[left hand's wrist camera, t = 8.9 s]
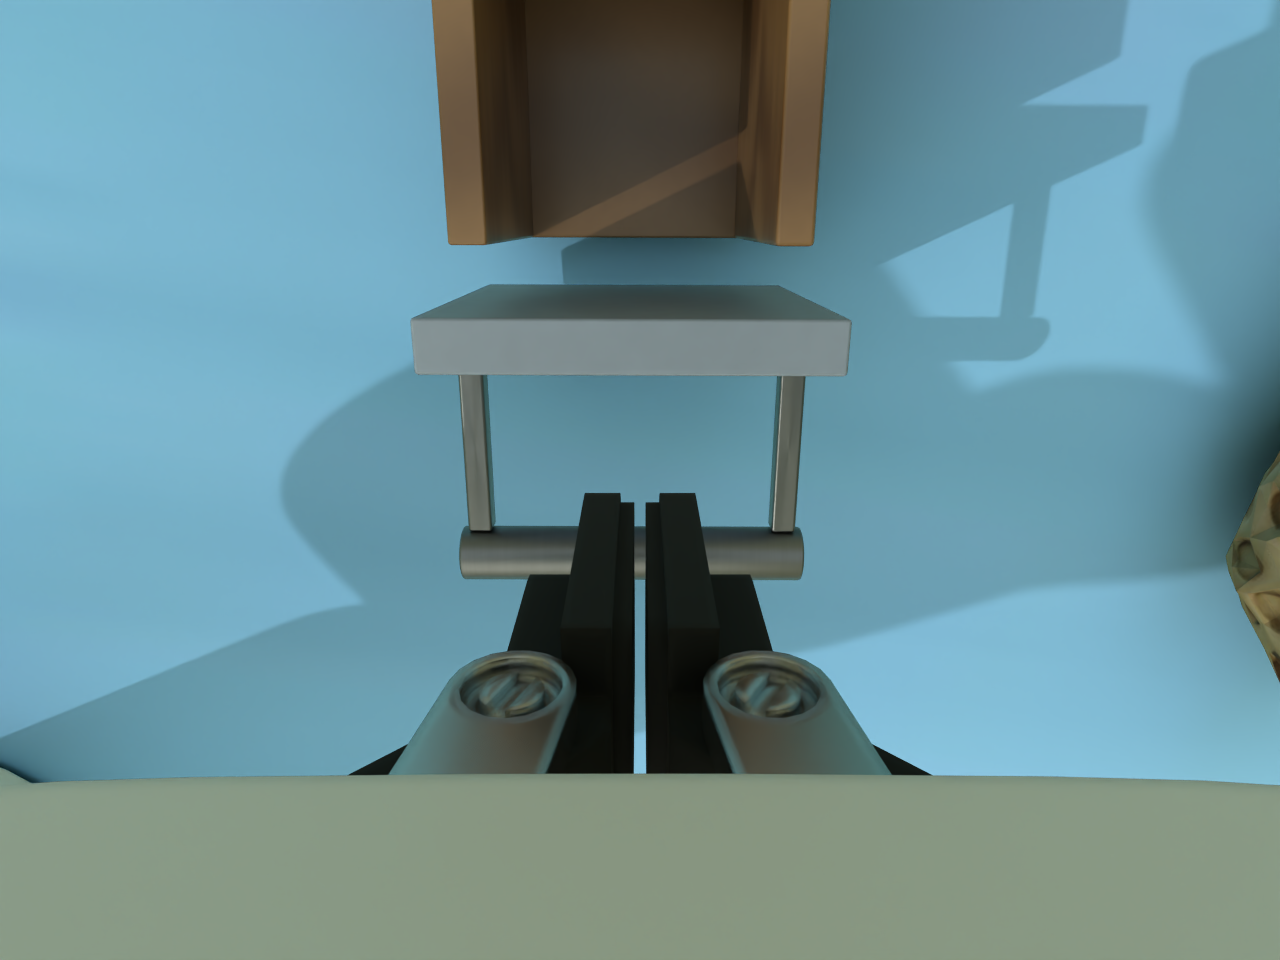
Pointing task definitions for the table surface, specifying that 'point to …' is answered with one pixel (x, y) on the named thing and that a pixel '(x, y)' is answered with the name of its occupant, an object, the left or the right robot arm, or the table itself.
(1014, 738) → the table surface
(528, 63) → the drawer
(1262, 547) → the teapot
